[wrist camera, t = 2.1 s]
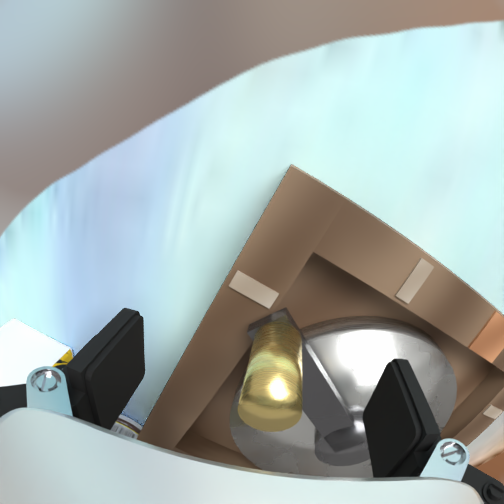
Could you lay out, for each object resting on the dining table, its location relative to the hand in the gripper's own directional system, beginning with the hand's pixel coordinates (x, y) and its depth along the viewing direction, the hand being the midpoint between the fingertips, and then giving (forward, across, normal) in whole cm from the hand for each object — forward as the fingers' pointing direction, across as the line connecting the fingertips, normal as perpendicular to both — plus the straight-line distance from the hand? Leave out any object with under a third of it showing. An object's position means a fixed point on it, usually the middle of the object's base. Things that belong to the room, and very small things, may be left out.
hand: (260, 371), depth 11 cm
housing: (+6, -6, +6) cm, 11 cm away
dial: (+5, -5, +5) cm, 9 cm away
